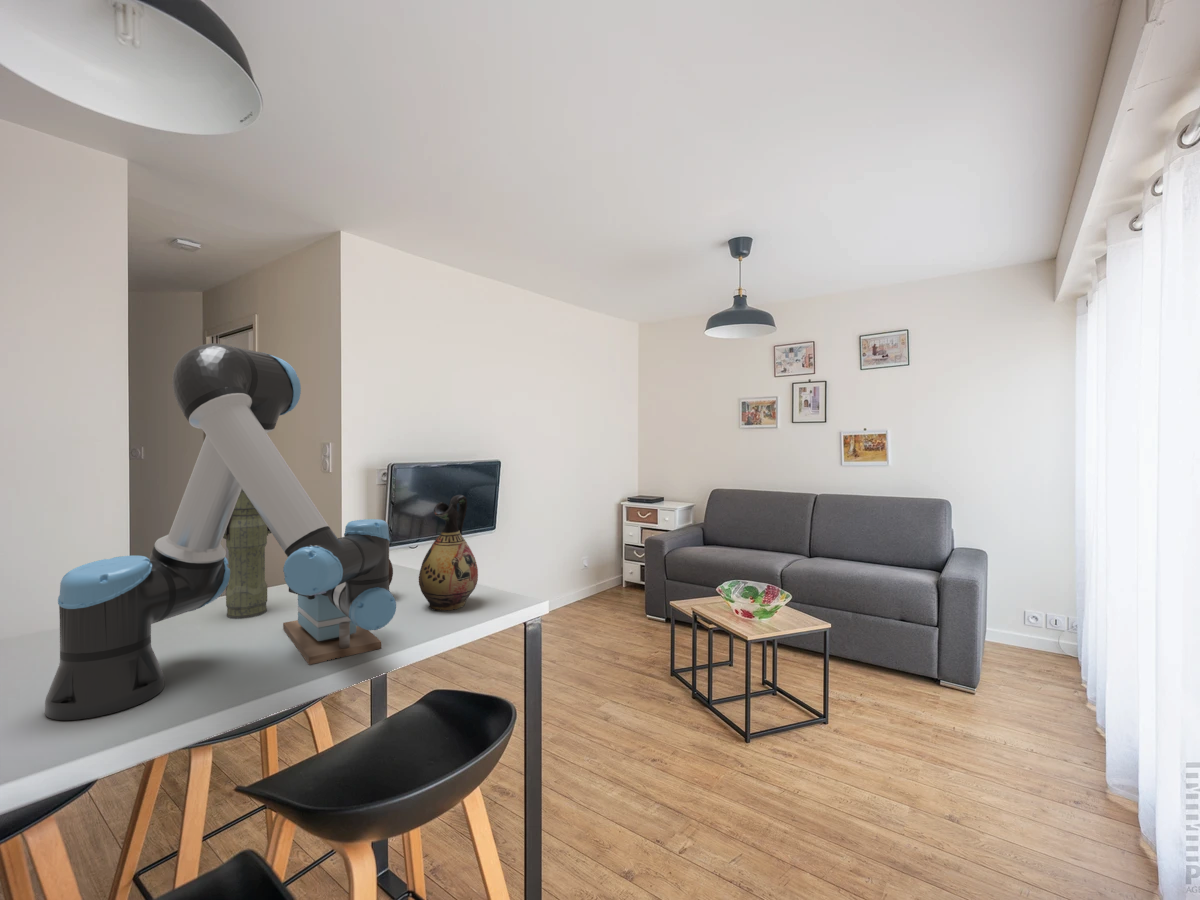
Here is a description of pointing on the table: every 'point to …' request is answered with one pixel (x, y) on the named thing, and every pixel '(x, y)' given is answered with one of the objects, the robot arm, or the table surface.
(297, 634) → the pin tray
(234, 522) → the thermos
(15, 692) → the table surface
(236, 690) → the table surface
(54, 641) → the table surface
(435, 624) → the table surface
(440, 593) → the ceramic jug
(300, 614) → the radio
